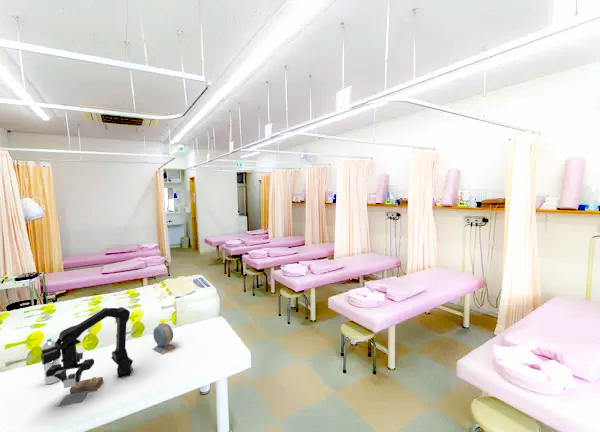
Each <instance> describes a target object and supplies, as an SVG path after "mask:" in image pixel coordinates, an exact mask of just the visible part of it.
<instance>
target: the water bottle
mask: <svg viewBox="0 0 600 432" xmlns="http://www.w3.org/2000/svg"><path fill="white" fill-rule="evenodd" d="M55 343H56V341H54V340H52V338H48V339H46V342H45V343H44V345H43V346H42V347H41V351H42V350H44V349H48V348H51V347H54V346H55V345H54V344H55ZM57 364H61V359H60V358H59V359H57V360H55V361H52V362H49V363H47V364H44V365H43V372H44V380H45V381H44V382H45V384H46V385H53V384H55V383H57V382H59V381H61V380H60V379H58V378H57V377H54V375H55V374H54V375H53V376H49V377H46V371H47V370H48V369H49V368H50V367H51V366H52V365H57Z"/></svg>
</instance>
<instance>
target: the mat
mask: <svg viewBox="0 0 600 432" xmlns="http://www.w3.org/2000/svg"><path fill="white" fill-rule="evenodd" d="M88 393H89V391H84V392H79V393H74V394H70V393H69V394H66V395H65V396H64V397H63V398H62V400H61V401H60V403H59V404H58V405H57V407H63V406H69V405H73V404H77V403H82V402H83V401H84V400H85V398H86V396H87V395H88Z"/></svg>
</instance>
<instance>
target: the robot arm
mask: <svg viewBox="0 0 600 432" xmlns="http://www.w3.org/2000/svg"><path fill="white" fill-rule="evenodd" d="M130 315H131V311H130V310H129V309H127V308H125V307H123V306H120V307H103V308H102V309H100V311H97V313H94V314H93V315H91V316H89V317H88V318H86V319H85V320H84V321H82V322H80V323H79V324H78V323H77V324H76V325H72V326H70V327H68V328H65V329H64V330H61V332H59V335H58V338H57V340H56V341H55V342H56V343H55V344H54V345H55V346H54V347H51V348H48V349H44V350H42V349H41V353H40V360H41V364H42V366H44V364H47V363H49V362H52V361H55V360H57V359H60V358H61V359H60V364H57V365H52V366H51V367H50V368H49V369H48V370H47V371H46V377H49V376H53V375H54V374H55V375H54V377H57V378H58V379H60V380H59V381H61V382H62V383H63V384H64V382H63V381H64V379H65V378H66V377H67V376H68V375H67V370H74V369H77V370H76V371H75V373H76V378H77V382H79V381H81V380H80V379H82V378H81V377H82V374H83V372H84V371H88V370H90V369H91V368H92V367H93V366H94V364H95V359H93V358H89V359H85V360H84V361H82V362H81V360H83V358H84V355H83V354H84V352H78V351H77V345H78V344H81V342H82V341H81V340H80V339H78V338H79V337H80V336H81V335H82V333H84V332H85V331H87V330H89V329H90V328H92V327H93V326H94V325H96V324H99V322H100V321H103V320H104V319H105V318H107V317H108V318H109V317H111V318H114V320H115V322H116V342H115V343H116V344H115V345H116V346H115V350H113V351H111V360H112V361H113V363H116V365H117V368H116V374H117V378H118V379H120V378H125V377H126V378H127V377H130V376H131V375H132V372H133V371H134V368H133V361H134V360H133V359H132V358H130V357H129V356H128V352H127V349H126V344H127V343H126V336H127V323H128V321H130V320H129V319H130ZM61 363H62V364H61Z"/></svg>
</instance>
